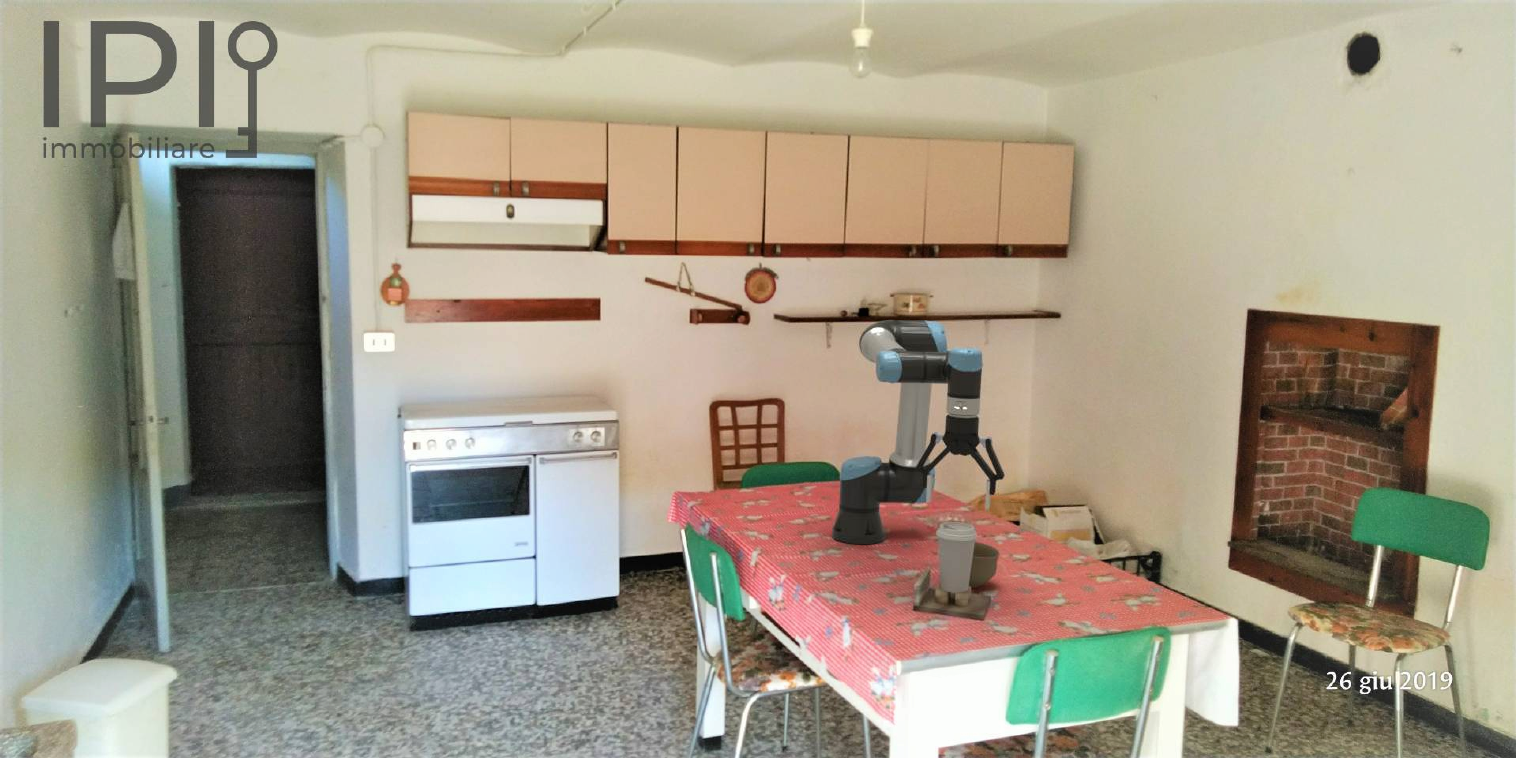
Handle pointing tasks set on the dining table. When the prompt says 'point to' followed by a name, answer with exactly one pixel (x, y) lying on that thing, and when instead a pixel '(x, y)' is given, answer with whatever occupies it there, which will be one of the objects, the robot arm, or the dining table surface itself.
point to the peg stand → (948, 600)
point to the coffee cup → (955, 555)
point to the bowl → (983, 564)
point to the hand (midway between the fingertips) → (957, 505)
